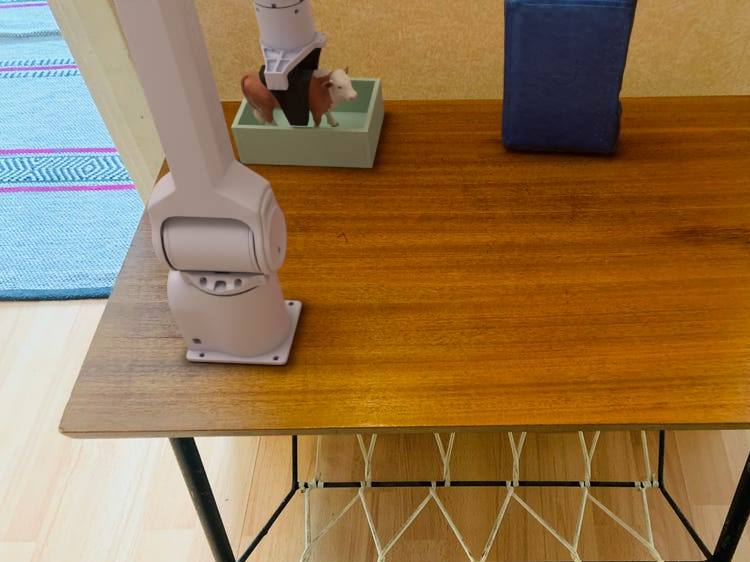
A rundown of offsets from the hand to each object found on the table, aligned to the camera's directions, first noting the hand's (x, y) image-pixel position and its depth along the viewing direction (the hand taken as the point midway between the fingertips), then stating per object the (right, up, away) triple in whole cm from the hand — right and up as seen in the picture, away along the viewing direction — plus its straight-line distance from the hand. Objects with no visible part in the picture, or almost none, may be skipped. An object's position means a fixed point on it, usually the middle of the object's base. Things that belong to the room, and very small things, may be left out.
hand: (303, 112), depth 90 cm
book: (+30, -3, +5) cm, 31 cm away
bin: (0, -1, +6) cm, 6 cm away
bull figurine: (0, -2, +2) cm, 3 cm away
